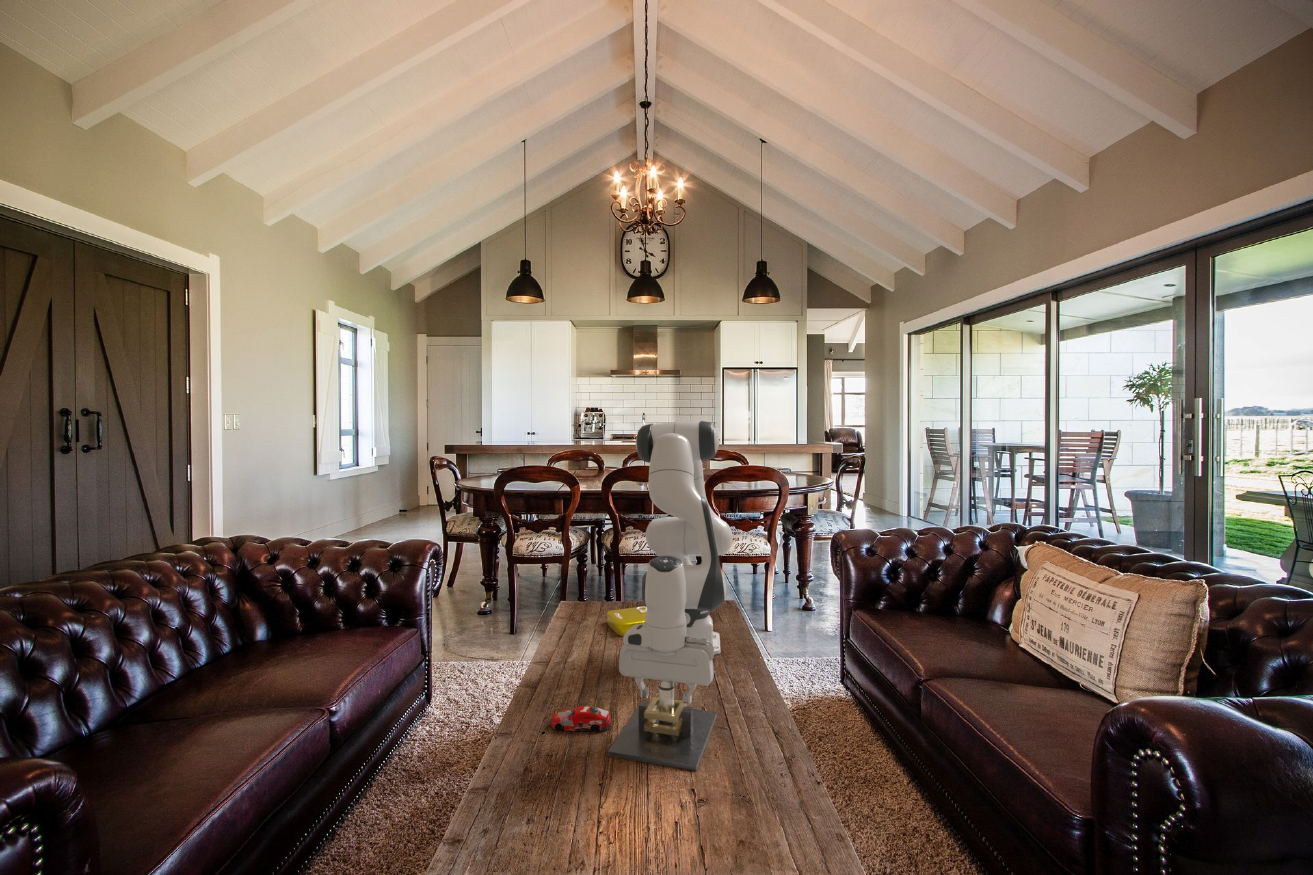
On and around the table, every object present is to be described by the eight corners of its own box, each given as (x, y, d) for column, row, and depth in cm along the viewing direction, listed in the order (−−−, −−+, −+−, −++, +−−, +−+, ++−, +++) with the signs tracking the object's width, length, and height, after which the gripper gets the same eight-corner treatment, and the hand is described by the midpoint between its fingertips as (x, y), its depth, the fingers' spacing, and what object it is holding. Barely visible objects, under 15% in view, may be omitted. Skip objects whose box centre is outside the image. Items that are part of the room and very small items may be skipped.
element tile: (605, 623, 198) (605, 609, 198) (647, 617, 204) (647, 604, 204) (620, 638, 184) (620, 623, 184) (664, 631, 190) (664, 616, 190)
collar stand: (641, 705, 138) (641, 680, 138) (716, 716, 133) (716, 689, 133) (607, 756, 117) (607, 725, 117) (696, 770, 112) (696, 738, 112)
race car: (547, 732, 127) (547, 714, 127) (553, 720, 133) (553, 702, 132) (608, 734, 126) (608, 715, 126) (612, 721, 132) (612, 704, 132)
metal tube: (660, 725, 127) (661, 669, 127) (675, 727, 127) (676, 671, 126) (655, 732, 124) (656, 676, 124) (671, 735, 123) (672, 678, 123)
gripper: (716, 634, 125) (716, 699, 125) (625, 625, 131) (625, 687, 131) (711, 645, 119) (711, 712, 119) (616, 635, 125) (616, 700, 125)
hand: (665, 699), depth 125 cm, fingers open, 8 cm apart
